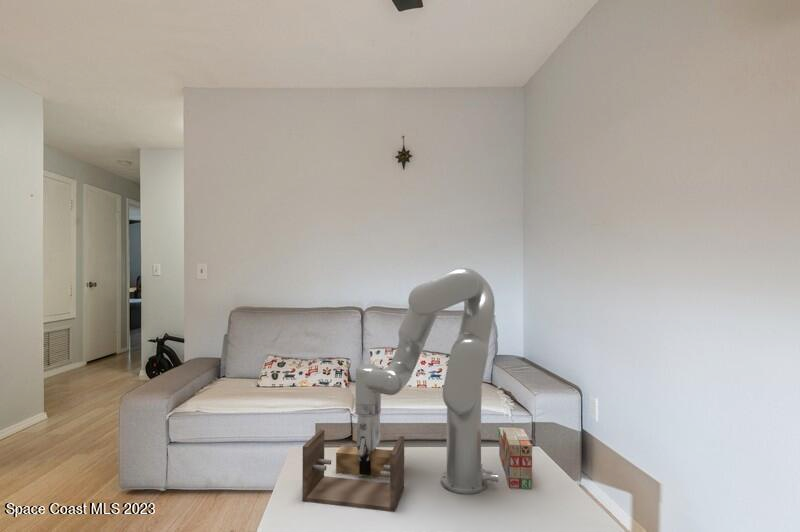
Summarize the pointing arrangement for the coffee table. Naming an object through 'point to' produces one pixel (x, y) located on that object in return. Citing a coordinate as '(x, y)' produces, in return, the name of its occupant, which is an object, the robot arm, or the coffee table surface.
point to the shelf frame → (351, 480)
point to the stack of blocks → (516, 457)
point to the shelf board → (350, 461)
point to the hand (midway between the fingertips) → (367, 468)
